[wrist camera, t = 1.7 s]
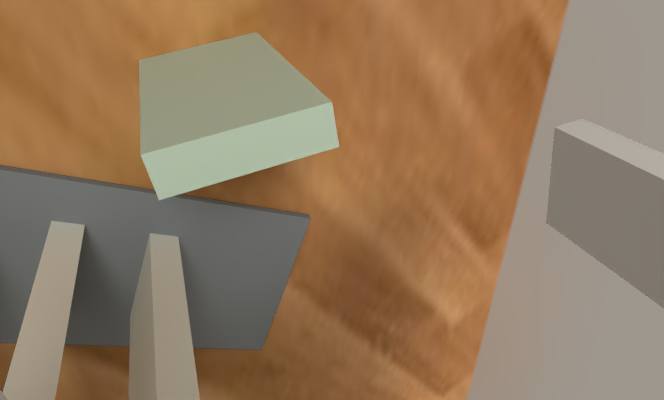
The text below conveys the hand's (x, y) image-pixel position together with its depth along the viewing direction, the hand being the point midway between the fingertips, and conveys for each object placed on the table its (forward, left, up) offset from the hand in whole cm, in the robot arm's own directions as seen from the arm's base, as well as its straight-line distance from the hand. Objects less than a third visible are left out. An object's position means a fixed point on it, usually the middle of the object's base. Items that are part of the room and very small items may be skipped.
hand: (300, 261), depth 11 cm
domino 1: (+9, -11, -17) cm, 22 cm away
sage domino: (0, 0, -18) cm, 18 cm away
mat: (+9, -11, -18) cm, 23 cm away
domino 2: (+11, -7, -17) cm, 22 cm away
